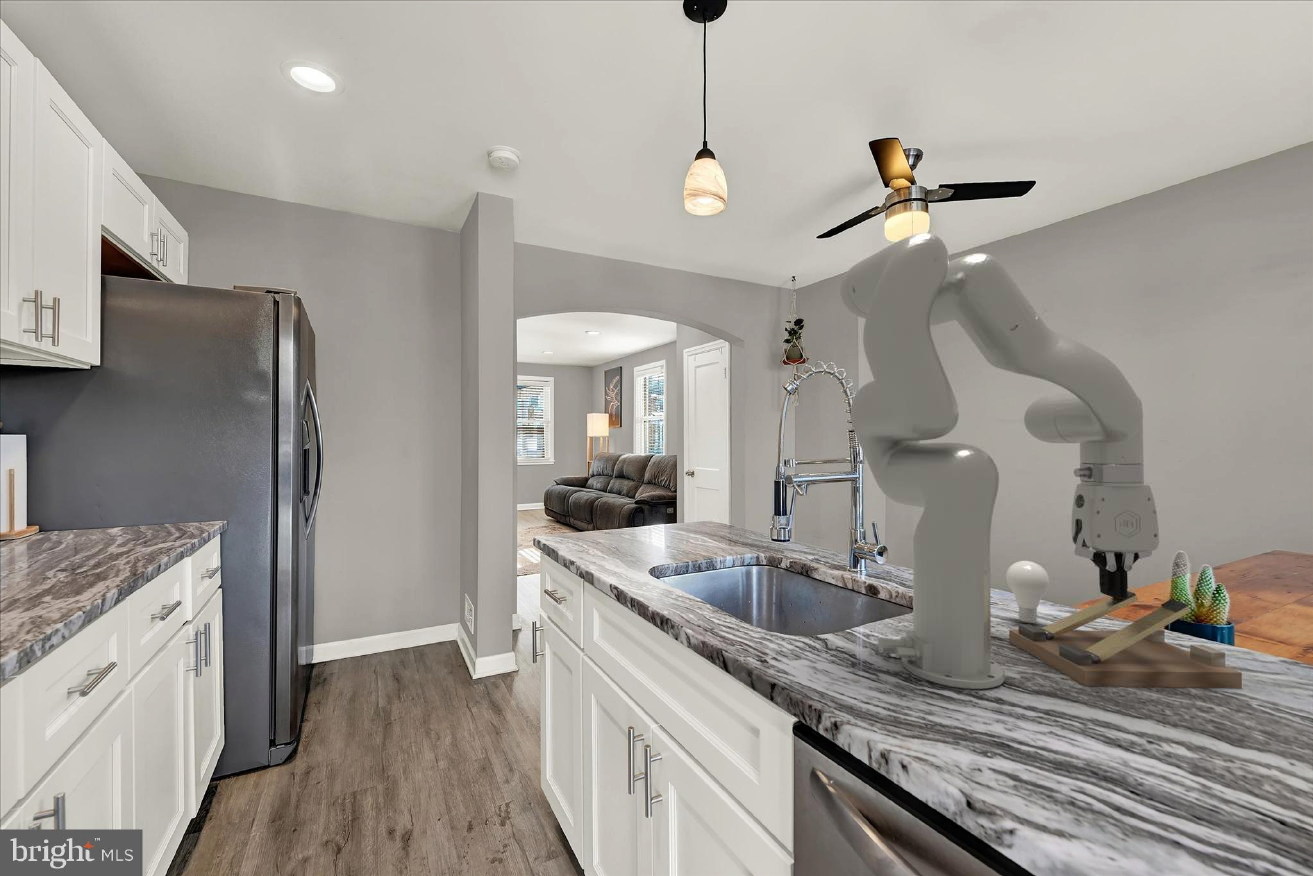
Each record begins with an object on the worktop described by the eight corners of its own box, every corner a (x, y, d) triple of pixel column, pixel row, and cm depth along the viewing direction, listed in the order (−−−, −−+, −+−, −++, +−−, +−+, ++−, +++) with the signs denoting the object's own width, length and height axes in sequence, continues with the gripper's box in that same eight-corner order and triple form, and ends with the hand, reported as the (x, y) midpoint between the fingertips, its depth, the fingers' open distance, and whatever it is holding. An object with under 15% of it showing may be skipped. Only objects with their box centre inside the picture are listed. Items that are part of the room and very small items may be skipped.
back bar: (1048, 641, 83) (1045, 634, 83) (1038, 635, 86) (1035, 629, 86) (1138, 600, 83) (1135, 593, 83) (1125, 595, 85) (1121, 589, 85)
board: (1085, 686, 72) (1084, 656, 72) (1009, 642, 88) (1009, 618, 88) (1241, 688, 71) (1241, 658, 72) (1137, 643, 87) (1136, 619, 88)
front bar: (1095, 665, 74) (1090, 658, 74) (1081, 658, 77) (1077, 651, 77) (1191, 611, 74) (1187, 604, 74) (1174, 606, 76) (1170, 599, 76)
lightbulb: (1058, 629, 94) (1058, 565, 94) (1021, 629, 94) (1020, 564, 94) (1033, 618, 100) (1033, 557, 100) (998, 617, 100) (998, 557, 101)
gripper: (1079, 477, 81) (1082, 603, 81) (1183, 476, 81) (1186, 602, 80) (1044, 474, 88) (1047, 589, 88) (1140, 473, 88) (1142, 588, 88)
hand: (1113, 595), depth 84 cm, fingers closed
